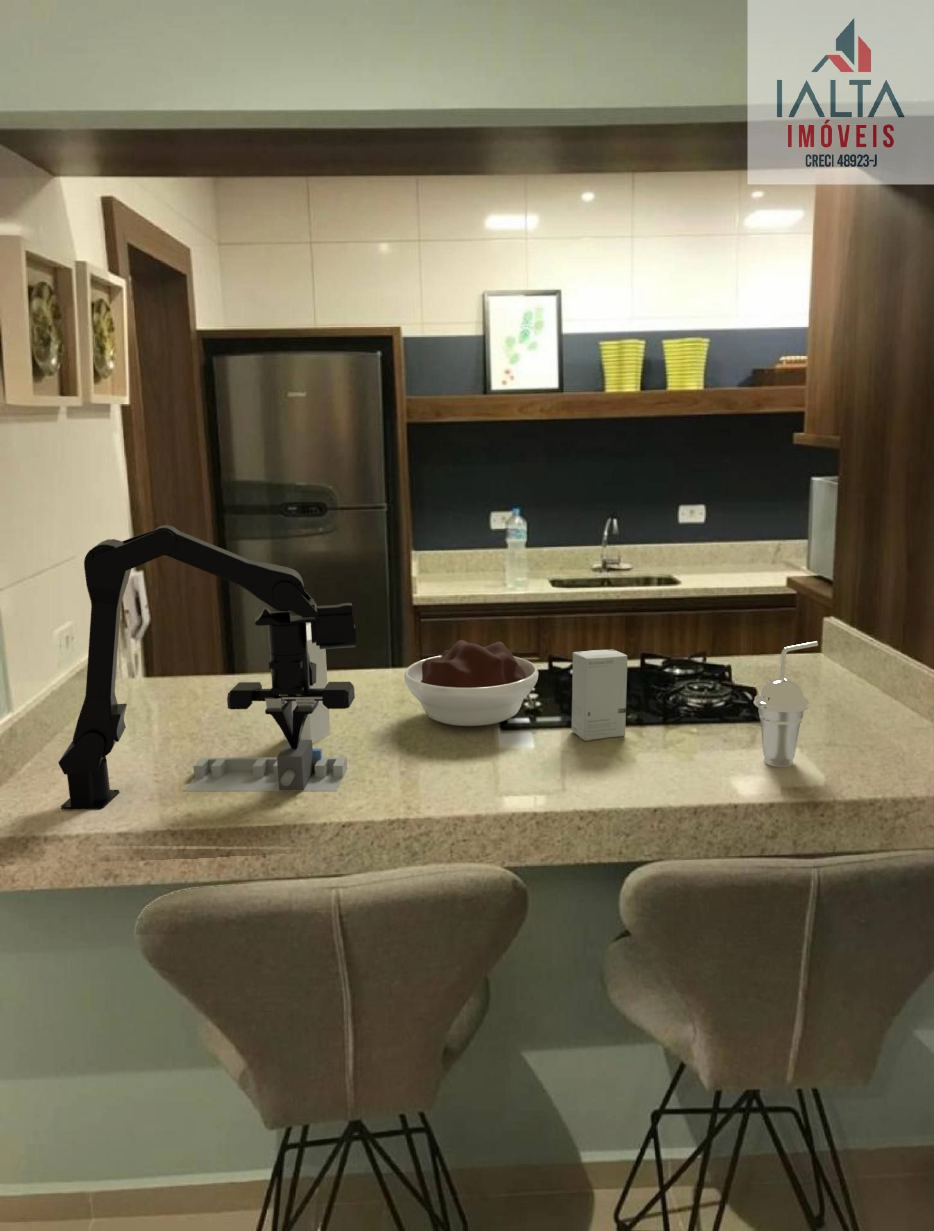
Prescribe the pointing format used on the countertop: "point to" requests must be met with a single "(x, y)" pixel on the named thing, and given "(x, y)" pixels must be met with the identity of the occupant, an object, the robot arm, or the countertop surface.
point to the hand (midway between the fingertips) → (295, 747)
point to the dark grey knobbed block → (295, 766)
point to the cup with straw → (781, 715)
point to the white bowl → (471, 684)
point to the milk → (319, 719)
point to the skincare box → (599, 694)
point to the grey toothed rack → (262, 774)
